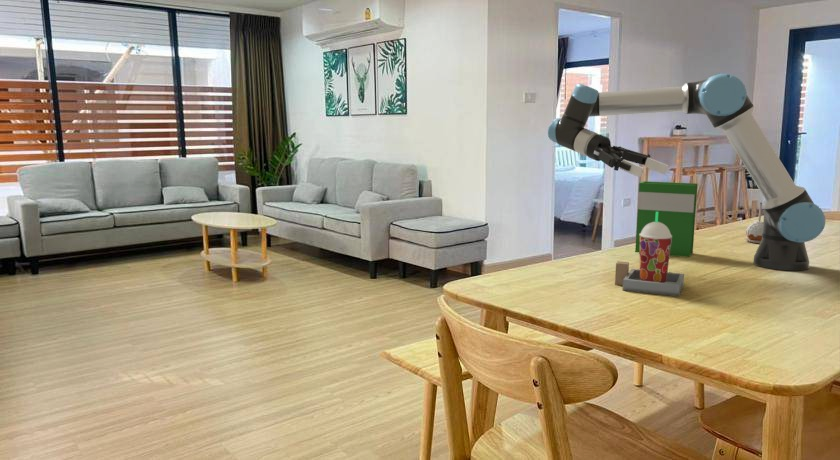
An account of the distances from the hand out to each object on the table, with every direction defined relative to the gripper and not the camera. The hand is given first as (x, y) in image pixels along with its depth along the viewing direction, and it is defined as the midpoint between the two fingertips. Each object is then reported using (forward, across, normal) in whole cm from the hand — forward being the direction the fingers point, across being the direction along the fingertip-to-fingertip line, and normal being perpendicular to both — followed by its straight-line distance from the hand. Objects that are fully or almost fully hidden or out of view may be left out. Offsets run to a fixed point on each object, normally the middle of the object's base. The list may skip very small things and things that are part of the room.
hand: (654, 171), depth 180 cm
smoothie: (+16, +9, -27) cm, 32 cm away
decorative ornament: (+10, -82, -30) cm, 87 cm away
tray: (+14, +10, -28) cm, 33 cm away
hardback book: (-4, -38, -34) cm, 51 cm away
